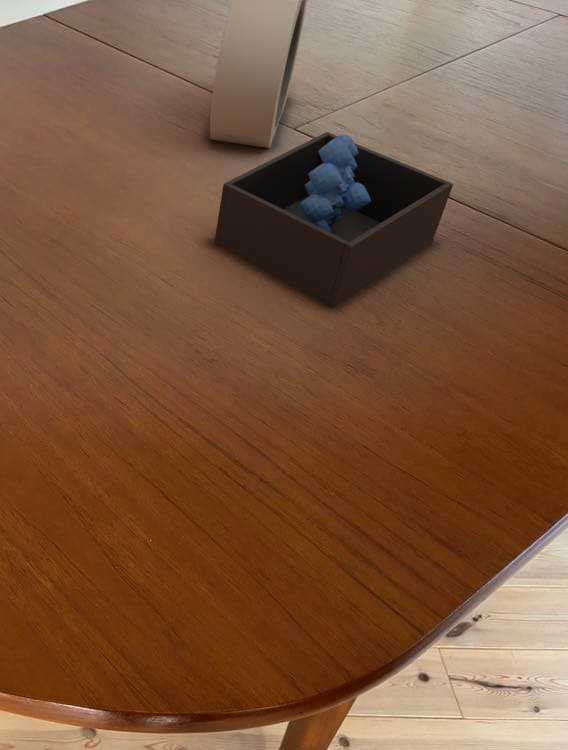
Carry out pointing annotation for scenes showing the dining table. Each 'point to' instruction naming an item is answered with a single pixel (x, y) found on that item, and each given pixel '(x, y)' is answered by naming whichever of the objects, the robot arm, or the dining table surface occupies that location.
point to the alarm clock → (255, 69)
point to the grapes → (334, 185)
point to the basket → (351, 233)
